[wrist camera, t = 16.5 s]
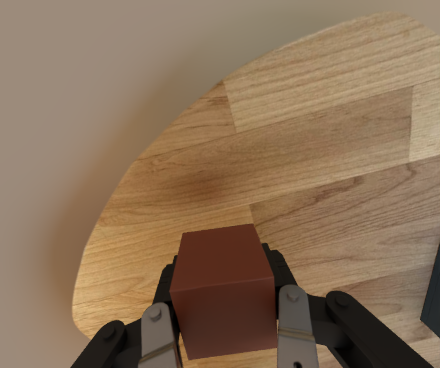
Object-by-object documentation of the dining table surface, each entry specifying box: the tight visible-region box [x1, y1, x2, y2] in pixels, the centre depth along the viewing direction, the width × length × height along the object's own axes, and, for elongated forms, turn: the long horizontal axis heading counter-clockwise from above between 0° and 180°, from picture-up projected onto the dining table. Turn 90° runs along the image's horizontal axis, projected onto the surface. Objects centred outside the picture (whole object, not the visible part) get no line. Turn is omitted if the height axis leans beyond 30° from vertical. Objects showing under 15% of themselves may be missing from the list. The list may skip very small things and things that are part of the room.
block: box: [169, 223, 278, 360], centre depth 12 cm, size 5×5×5 cm
